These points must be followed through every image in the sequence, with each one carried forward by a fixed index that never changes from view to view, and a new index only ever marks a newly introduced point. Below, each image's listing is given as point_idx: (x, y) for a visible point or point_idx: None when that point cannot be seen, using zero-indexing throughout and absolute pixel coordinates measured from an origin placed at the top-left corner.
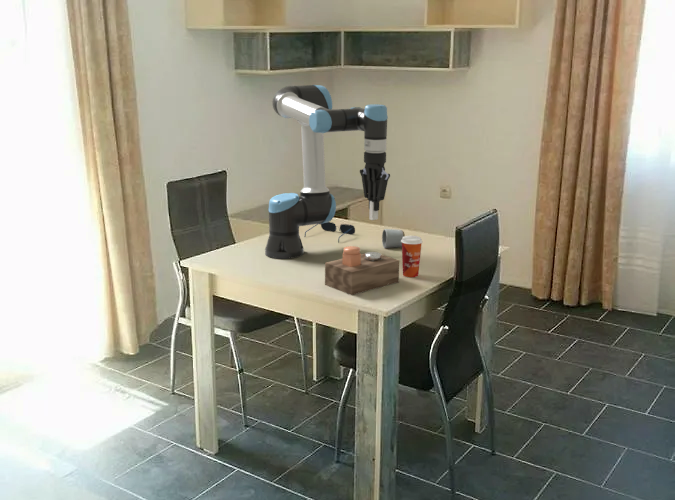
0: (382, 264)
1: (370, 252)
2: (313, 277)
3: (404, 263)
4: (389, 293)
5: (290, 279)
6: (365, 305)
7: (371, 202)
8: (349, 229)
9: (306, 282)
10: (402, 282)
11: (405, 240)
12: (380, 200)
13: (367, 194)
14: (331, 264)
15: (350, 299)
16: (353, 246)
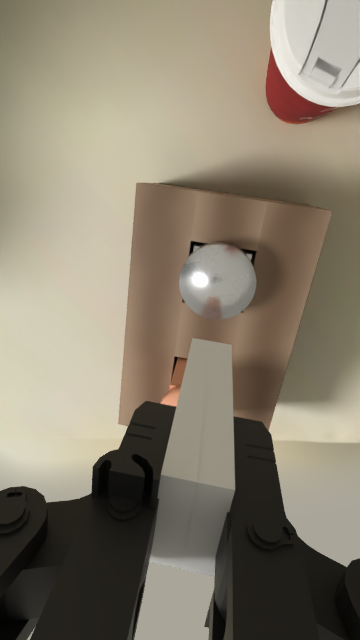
0: (300, 316)
1: (189, 270)
2: (65, 351)
3: (299, 117)
4: (343, 325)
5: (41, 400)
6: (337, 439)
7: (188, 555)
8: None
9: (88, 394)
10: (321, 196)
11: (342, 92)
12: (337, 580)
13: (11, 614)
14: None
15: (274, 427)
16: (176, 400)
